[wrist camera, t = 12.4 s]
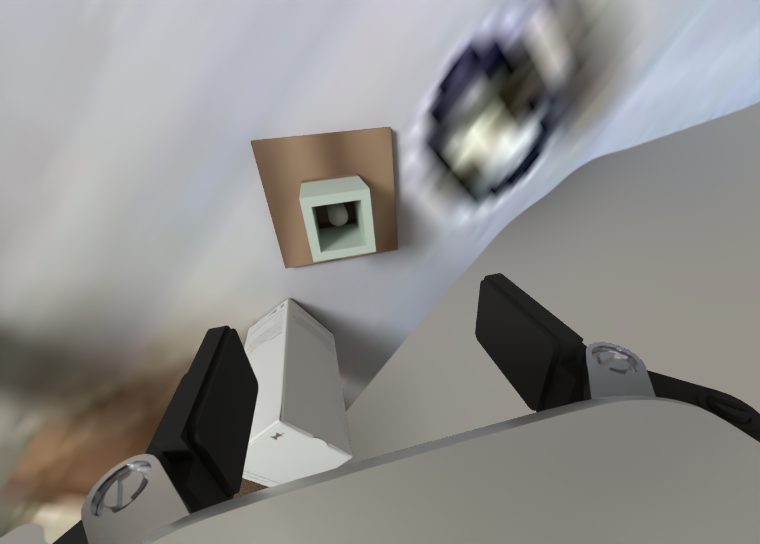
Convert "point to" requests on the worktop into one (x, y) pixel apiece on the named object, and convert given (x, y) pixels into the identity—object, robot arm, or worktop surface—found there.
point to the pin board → (323, 159)
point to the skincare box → (294, 399)
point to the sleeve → (329, 237)
